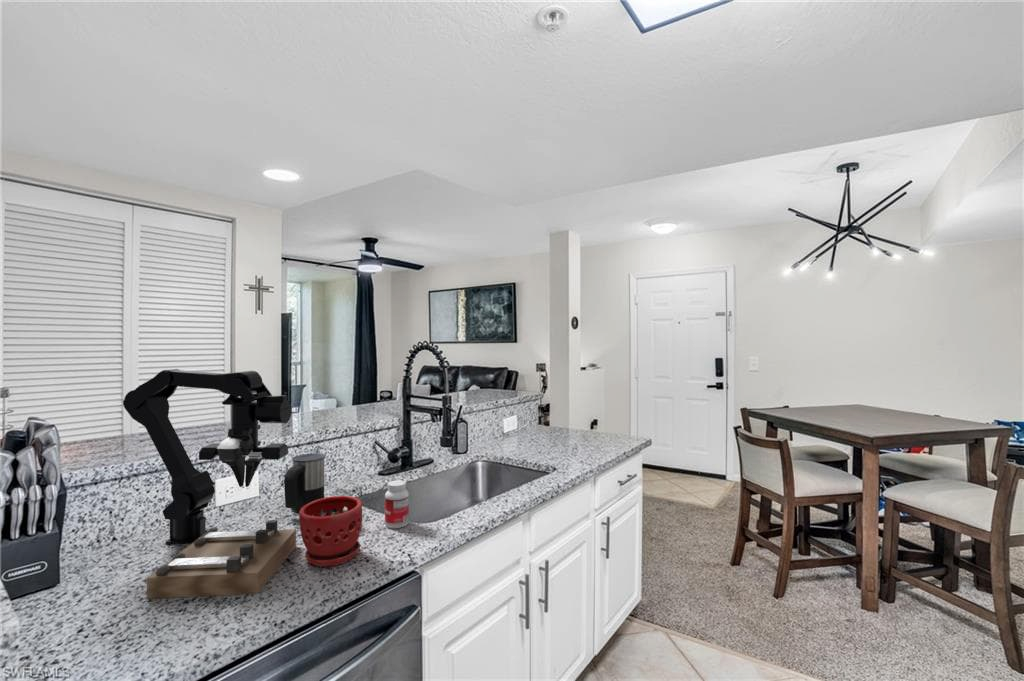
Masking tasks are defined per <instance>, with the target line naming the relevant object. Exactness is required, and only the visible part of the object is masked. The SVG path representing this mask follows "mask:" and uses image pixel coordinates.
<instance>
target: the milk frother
mask: <svg viewBox="0 0 1024 681" xmlns="http://www.w3.org/2000/svg"><path fill="white" fill-rule="evenodd" d="M325 458H326V454H324V453H305V454H298V455H294V456H292V457H291V460H292V466H291V467H290V468H288V469H287V471H286V472H285V475H284V479H283V486H284V487H283V488H284V506H285V508H287V509H290V510H291V511H292V512H295V513H299V512H300V509H301V508H302V507H303V506H305V505H306V504H308V503H310V502H313V501H315V500H318V499H322V498H325ZM344 509H345V507H343V510H344ZM337 511H338V510H337V509H332V510H331V512H333V513H334V512H337Z"/></svg>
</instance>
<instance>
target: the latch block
mask: <svg viewBox="0 0 1024 681" xmlns="http://www.w3.org/2000/svg"><path fill="white" fill-rule="evenodd" d="M257 530H258V531H257V532H256V539H250V540H224V541H206V539H205V537H204V536H205V535H207V534H208V533H209V532H219V530H218V527H216V526H215V527H214V526H213V527H210V529H209V530H208V529H207V532H206V533H205V534H204V535H202V536H201V537H199V538H198V539H197V540H195V541H194V542H193V543H190V544H189V545H188V546H186V547H185V548H184V549H182V550H181V551H180V552H178V553H177V554H175V555H174V556H173V557H172V558H171V559H170V560H168V561H166V563H164V564H163V565H161V566H159V568H157V569H156V570H155V571H154V572H153V573H152V574H150V575H149V576H147V577H146V599H147V600H150V599H151V600H152V599H173V598H174V599H175V598H190V597H191V598H193V597H215V596H216V597H217V596H231V595H233V596H236V595H251V594H252V595H253V594H259V593H260V592H261V590H263V588H264V586H265V585H266V584H267V583H268V582H269V580H270V579H271V578H272V576H274V574H275V573H276V572H277V570H278V569H279V568H280V567H281V565H282V564H283V563H284V561H285V560H286V559H287V558H288V557H289V555H290V554H291V553H292V552H293V551H294V549H295V547H297V529H296V528H294V529H292V528H291V529H289V528H288V529H278V519H272V520H271V519H270V520H267V521H266V522H265V529H257ZM268 530H274V534H273V535H272V536H271V537H270V538H269V539H268ZM225 556H230V557H229V558H228V559H227V567H219V568H196V569H174V570H170V567H169V565H168V564H169V563H171V562H172V561H173V560H174V559H178V558H202V557H225ZM241 556H249V560H248V561H247V562H246V563H245V564H244V565H243V566H242V567H241Z"/></svg>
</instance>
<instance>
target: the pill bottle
mask: <svg viewBox="0 0 1024 681" xmlns="http://www.w3.org/2000/svg"><path fill="white" fill-rule="evenodd" d="M406 487H407V482H406V480H405V481H404V480H399V479H398V480H391V481H389V482H388V483H387V491H386V492H385V494H384V525H385V527H386V528H388V527H389V528H388V529H400V528H401V527H402V528H405V527H406V526H408V524H409V520H410V519H409V518H410V517H409V515H410V511H409V507H410V505H409V504H410V503H409V502H410V501H409V500H410V494H409V492H408V490H407V488H406ZM404 526H405V527H404Z"/></svg>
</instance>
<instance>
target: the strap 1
mask: <svg viewBox="0 0 1024 681" xmlns="http://www.w3.org/2000/svg"><path fill="white" fill-rule="evenodd" d="M229 557H230V556H225V557H202V558H178V559H174V560H173V561H172V562H171V563H169V564H168V565H169V567H170V570H174V569H196V568H219V567H227V559H228V558H229ZM248 560H249V556H241V567H242V566H243V565H244V564H245V563H246V562H247V561H248Z"/></svg>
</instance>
